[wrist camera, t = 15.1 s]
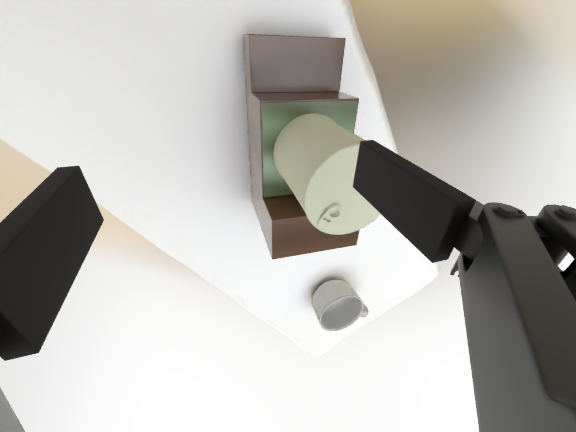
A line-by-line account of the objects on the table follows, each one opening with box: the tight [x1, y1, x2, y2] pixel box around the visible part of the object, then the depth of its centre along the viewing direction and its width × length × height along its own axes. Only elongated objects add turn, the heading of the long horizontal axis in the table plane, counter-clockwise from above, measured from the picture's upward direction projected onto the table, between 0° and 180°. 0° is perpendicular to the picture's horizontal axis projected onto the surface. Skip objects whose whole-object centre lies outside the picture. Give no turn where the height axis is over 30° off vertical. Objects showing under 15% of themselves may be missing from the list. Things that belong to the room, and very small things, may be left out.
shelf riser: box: [243, 34, 359, 259], centre depth 35 cm, size 24×12×16 cm, turn 179°
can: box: [273, 113, 380, 235], centre depth 28 cm, size 9×9×12 cm
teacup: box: [312, 280, 368, 331], centre depth 63 cm, size 14×11×8 cm
